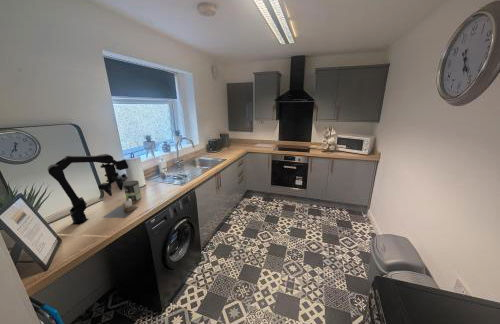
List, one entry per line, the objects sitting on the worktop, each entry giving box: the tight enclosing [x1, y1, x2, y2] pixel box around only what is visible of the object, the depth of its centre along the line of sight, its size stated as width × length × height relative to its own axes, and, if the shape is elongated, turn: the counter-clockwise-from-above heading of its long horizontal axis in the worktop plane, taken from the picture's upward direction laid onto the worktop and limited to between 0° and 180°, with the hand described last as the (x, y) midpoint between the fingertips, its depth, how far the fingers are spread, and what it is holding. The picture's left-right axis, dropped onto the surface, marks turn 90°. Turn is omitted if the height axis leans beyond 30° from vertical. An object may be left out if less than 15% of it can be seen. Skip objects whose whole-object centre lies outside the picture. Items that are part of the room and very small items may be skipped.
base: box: [122, 203, 137, 212], centre depth 133 cm, size 7×7×2 cm
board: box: [102, 206, 139, 219], centre depth 131 cm, size 16×14×1 cm
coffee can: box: [122, 180, 142, 203], centre depth 147 cm, size 10×10×14 cm
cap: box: [123, 198, 133, 208], centre depth 131 cm, size 4×4×6 cm
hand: (116, 193), depth 133 cm, fingers open, 9 cm apart
